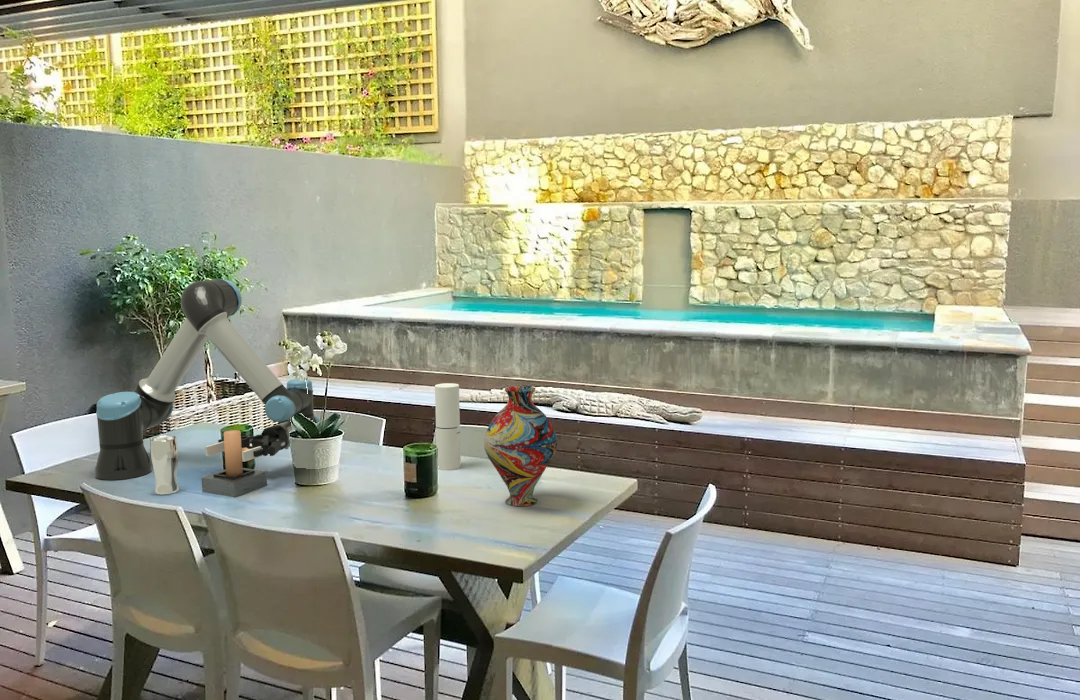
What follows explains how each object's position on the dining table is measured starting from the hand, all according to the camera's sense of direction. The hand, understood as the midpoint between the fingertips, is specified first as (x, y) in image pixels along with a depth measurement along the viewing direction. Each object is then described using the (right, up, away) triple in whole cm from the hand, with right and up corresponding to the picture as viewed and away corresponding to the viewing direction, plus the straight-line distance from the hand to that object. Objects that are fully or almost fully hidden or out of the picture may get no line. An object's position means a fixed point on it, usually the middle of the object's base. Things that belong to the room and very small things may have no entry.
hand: (224, 454), depth 231 cm
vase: (+81, -11, -9) cm, 83 cm away
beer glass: (-16, -11, +2) cm, 20 cm away
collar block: (+1, -10, +4) cm, 11 cm away
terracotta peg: (+1, -10, +4) cm, 11 cm away
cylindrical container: (+59, -7, +24) cm, 64 cm away
